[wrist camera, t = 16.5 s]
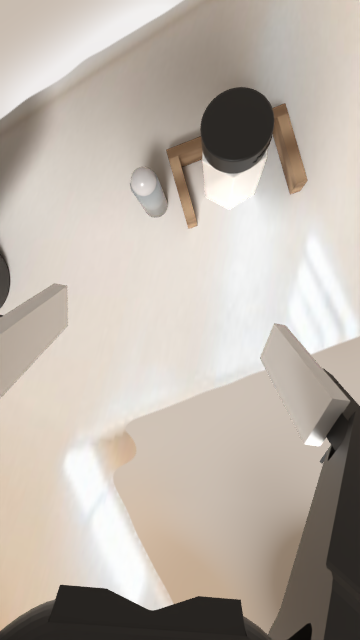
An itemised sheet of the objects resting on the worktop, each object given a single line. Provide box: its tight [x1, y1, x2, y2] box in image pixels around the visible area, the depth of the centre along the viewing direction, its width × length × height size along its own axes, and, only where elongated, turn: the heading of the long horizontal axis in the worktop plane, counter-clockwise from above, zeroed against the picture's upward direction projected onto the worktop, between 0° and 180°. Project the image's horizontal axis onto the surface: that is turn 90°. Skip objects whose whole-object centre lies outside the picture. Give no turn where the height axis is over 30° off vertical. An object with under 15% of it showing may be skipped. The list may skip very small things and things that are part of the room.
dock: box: [166, 104, 308, 228], centre depth 37 cm, size 12×18×3 cm, turn 106°
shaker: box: [130, 167, 168, 217], centre depth 36 cm, size 4×4×9 cm
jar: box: [201, 87, 274, 210], centre depth 33 cm, size 9×8×12 cm
